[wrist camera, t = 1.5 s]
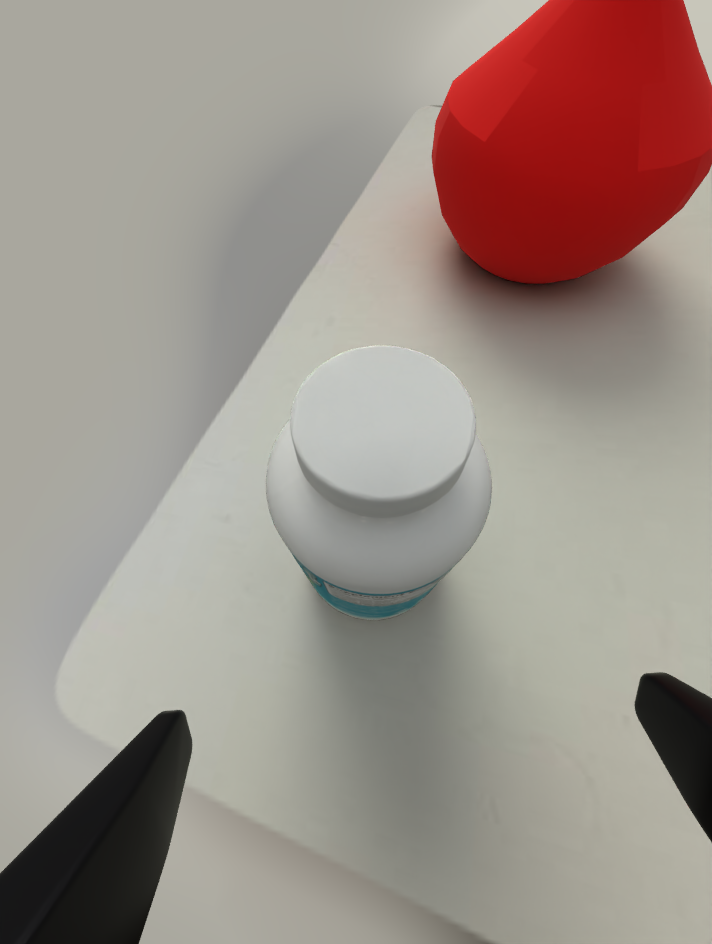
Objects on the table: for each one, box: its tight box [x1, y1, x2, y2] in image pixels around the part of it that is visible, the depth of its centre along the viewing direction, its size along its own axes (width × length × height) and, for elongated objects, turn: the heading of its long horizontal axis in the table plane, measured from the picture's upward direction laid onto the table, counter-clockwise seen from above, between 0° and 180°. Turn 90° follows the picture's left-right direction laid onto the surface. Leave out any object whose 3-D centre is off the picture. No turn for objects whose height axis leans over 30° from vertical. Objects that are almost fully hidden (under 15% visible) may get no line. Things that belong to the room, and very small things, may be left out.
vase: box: [432, 0, 712, 284], centre depth 25 cm, size 18×18×19 cm
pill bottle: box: [266, 345, 492, 620], centre depth 16 cm, size 8×7×14 cm
